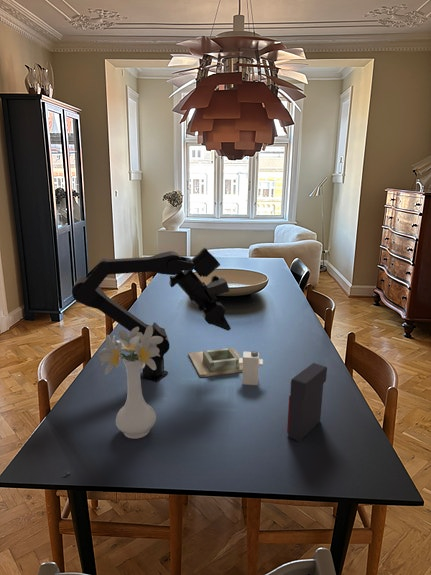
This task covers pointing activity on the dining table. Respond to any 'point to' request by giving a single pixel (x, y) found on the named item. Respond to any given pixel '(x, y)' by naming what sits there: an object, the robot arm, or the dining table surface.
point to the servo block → (250, 367)
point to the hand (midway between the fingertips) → (226, 324)
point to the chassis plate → (216, 362)
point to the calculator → (305, 401)
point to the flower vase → (133, 377)
